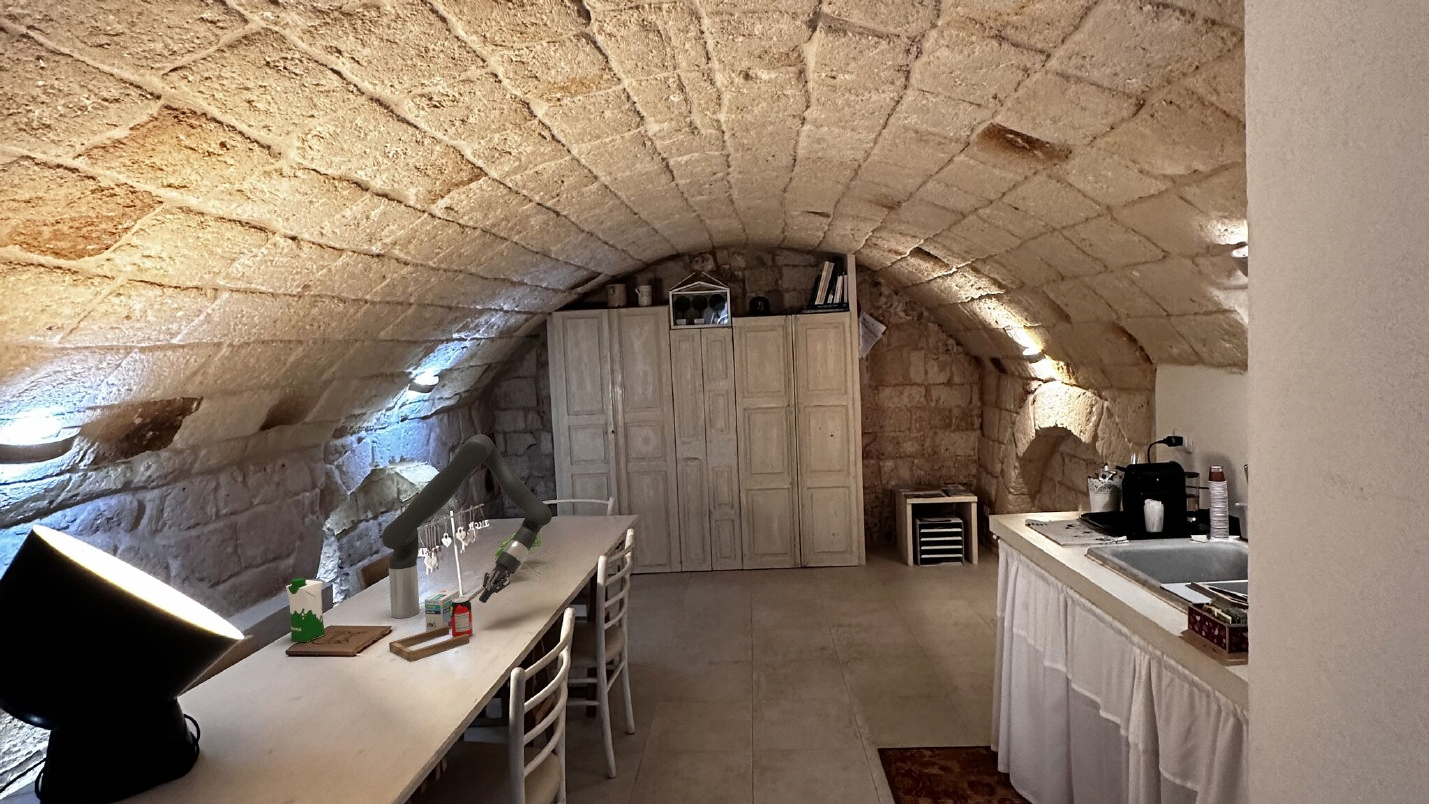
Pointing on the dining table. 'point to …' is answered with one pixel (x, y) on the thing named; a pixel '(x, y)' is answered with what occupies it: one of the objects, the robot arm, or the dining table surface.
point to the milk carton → (305, 609)
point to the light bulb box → (439, 609)
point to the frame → (412, 655)
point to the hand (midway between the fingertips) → (481, 601)
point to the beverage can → (461, 616)
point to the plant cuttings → (538, 544)
